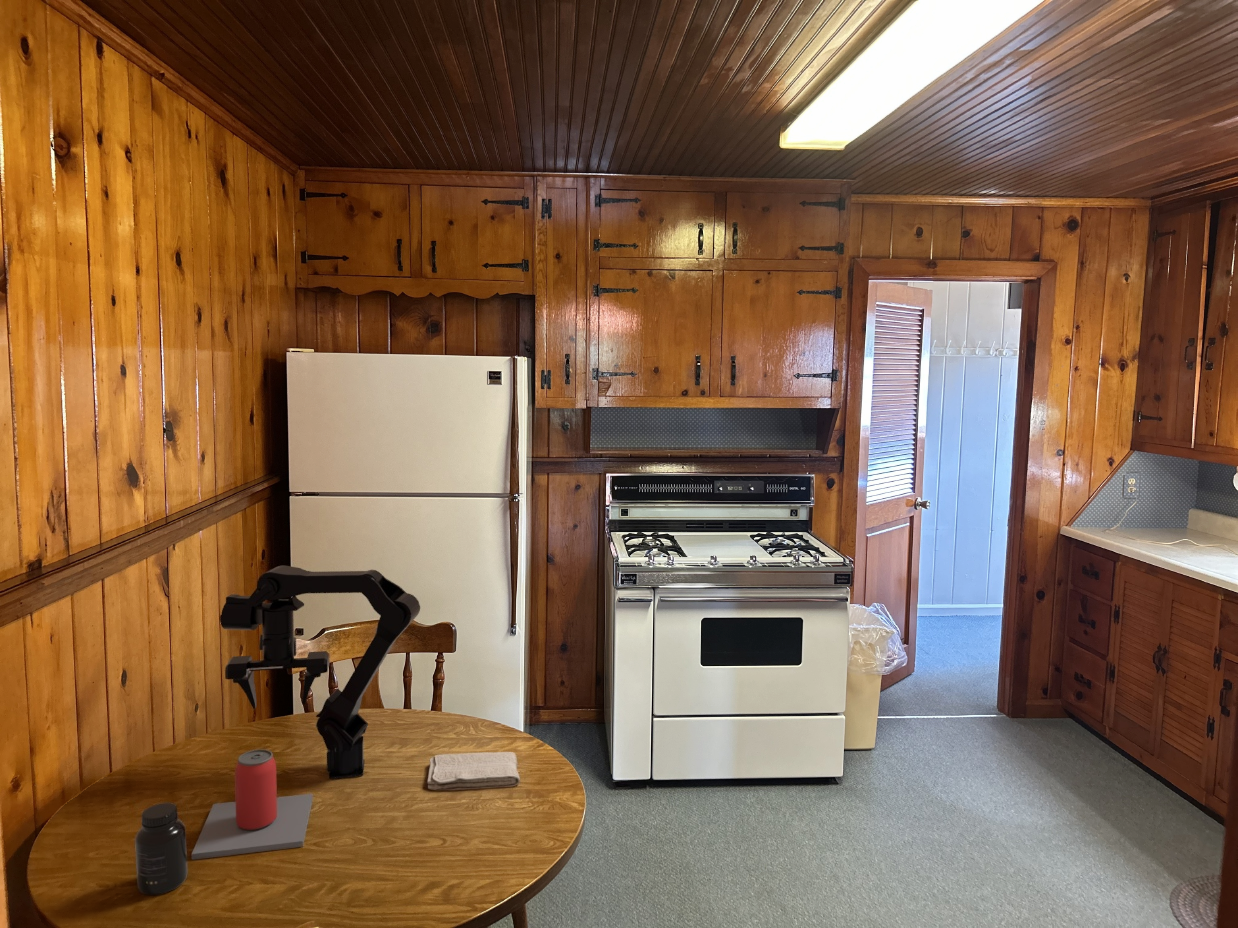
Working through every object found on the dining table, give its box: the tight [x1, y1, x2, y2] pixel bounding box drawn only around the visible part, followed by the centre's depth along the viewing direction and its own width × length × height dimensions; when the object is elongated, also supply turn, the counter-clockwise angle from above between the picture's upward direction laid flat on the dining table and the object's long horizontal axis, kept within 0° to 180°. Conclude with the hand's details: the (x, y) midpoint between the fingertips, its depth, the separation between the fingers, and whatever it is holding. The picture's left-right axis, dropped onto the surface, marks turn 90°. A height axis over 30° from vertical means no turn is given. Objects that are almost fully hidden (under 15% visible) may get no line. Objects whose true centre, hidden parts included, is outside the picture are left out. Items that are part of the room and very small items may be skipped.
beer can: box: [234, 748, 278, 830], centre depth 140 cm, size 7×7×12 cm
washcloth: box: [426, 751, 521, 791], centre depth 162 cm, size 12×18×3 cm, turn 101°
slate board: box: [191, 793, 314, 861], centre depth 141 cm, size 17×16×1 cm
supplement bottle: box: [134, 802, 188, 896], centre depth 124 cm, size 7×7×12 cm
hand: (279, 705), depth 161 cm, fingers open, 9 cm apart
